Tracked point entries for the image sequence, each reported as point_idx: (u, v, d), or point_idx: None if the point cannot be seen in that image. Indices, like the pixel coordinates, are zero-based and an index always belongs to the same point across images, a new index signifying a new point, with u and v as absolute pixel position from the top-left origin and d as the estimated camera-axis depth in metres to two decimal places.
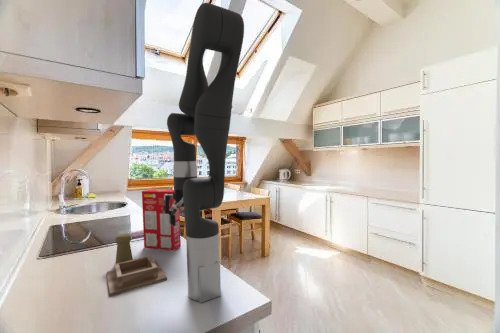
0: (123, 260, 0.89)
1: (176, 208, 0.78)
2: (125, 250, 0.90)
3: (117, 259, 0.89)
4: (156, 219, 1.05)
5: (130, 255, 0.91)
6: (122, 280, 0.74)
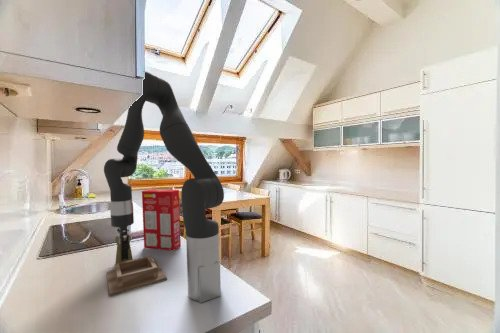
0: (123, 260, 0.89)
1: None
2: None
3: (117, 259, 0.89)
4: (156, 219, 1.05)
5: (130, 255, 0.91)
6: (122, 280, 0.74)
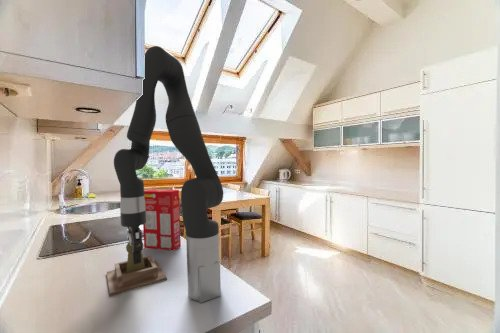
0: None
1: None
2: None
3: (128, 270, 0.79)
4: (156, 219, 1.05)
5: (142, 265, 0.81)
6: (122, 280, 0.74)
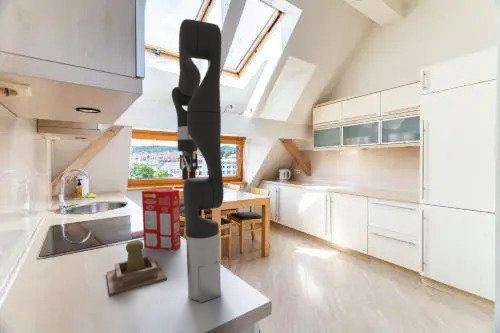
0: None
1: (195, 165, 0.94)
2: (137, 259, 0.79)
3: (128, 270, 0.79)
4: (156, 219, 1.05)
5: (142, 265, 0.81)
6: (122, 280, 0.74)
